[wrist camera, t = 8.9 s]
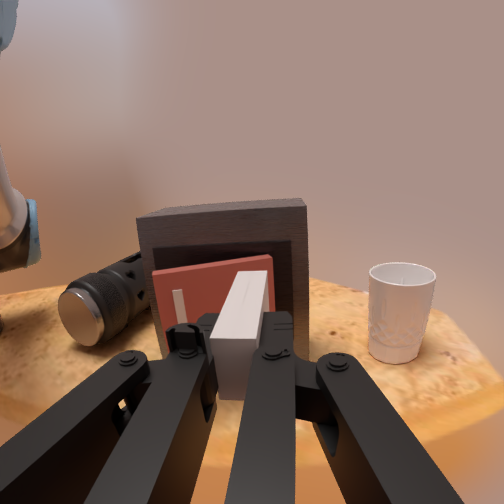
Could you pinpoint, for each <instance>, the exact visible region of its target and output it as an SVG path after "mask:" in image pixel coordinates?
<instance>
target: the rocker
mask: <svg viewBox="0 0 504 504" xmlns="http://www.w3.org/2000/svg"><path fill="white" fill-rule="evenodd" d="M238 271H267V275H268V295H269V312H275V294H274V275H273V258H272V257H271V256H270V255H268V254H266V255H260V256H253V257H246V258H239V259H232V260H226V261H219V262H212V263H205V264H198V265H191V266H185V267H178V268H171V269H164V270H157V271H153V272H152V277H153V283H154V288H155V294H156V299H157V304H158V309H159V314H160V319H161V324H162V328H163V333H164V337H165V342H166V346H167V350H168V354H169V352H170V351H169V347H168V342H167V338H166V333H165V331H166V330H167V329H168V328H169V327H172V326H174V325H176V324H180V323H196V322H197V320H198V318H199V317H201V316H202V315H204V314H205V313H220V312H221V310H222V308H223V305H224V303H225V301H226V298H227V296H228V294H229V291H230V289H231V287H232V284H233V282H234V280H235V277H236V275H237V273H238Z"/></svg>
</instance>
